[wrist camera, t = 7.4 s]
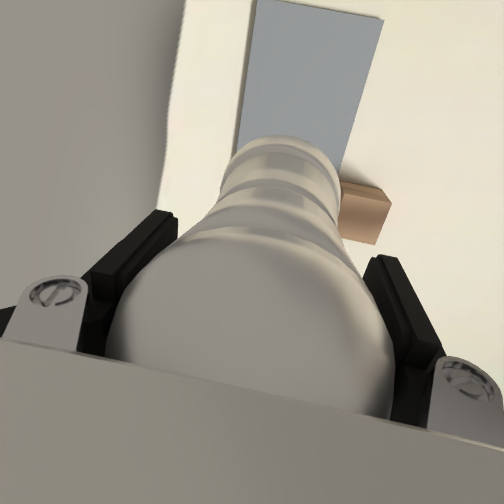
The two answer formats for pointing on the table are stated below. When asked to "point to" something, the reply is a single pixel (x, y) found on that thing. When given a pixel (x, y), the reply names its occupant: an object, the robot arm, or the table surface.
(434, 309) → the table surface
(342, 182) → the walnut block
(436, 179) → the table surface
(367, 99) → the table surface
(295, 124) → the slate mat
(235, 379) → the plastic bottle
